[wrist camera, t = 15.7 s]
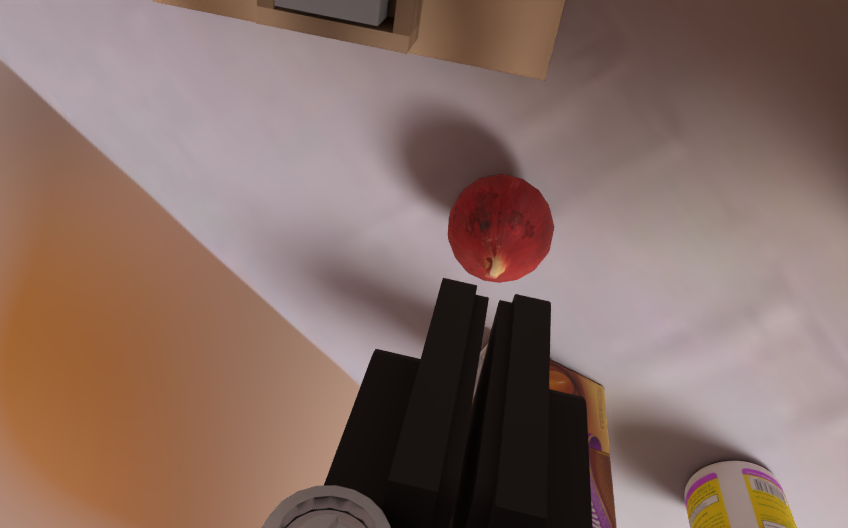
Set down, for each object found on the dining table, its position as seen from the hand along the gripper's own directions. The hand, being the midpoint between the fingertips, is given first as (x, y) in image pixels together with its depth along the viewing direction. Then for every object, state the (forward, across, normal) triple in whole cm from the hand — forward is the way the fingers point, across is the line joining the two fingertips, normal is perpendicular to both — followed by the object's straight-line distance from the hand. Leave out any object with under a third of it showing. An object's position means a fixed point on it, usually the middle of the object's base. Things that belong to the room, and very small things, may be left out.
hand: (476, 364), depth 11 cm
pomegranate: (+29, -1, +11) cm, 31 cm away
